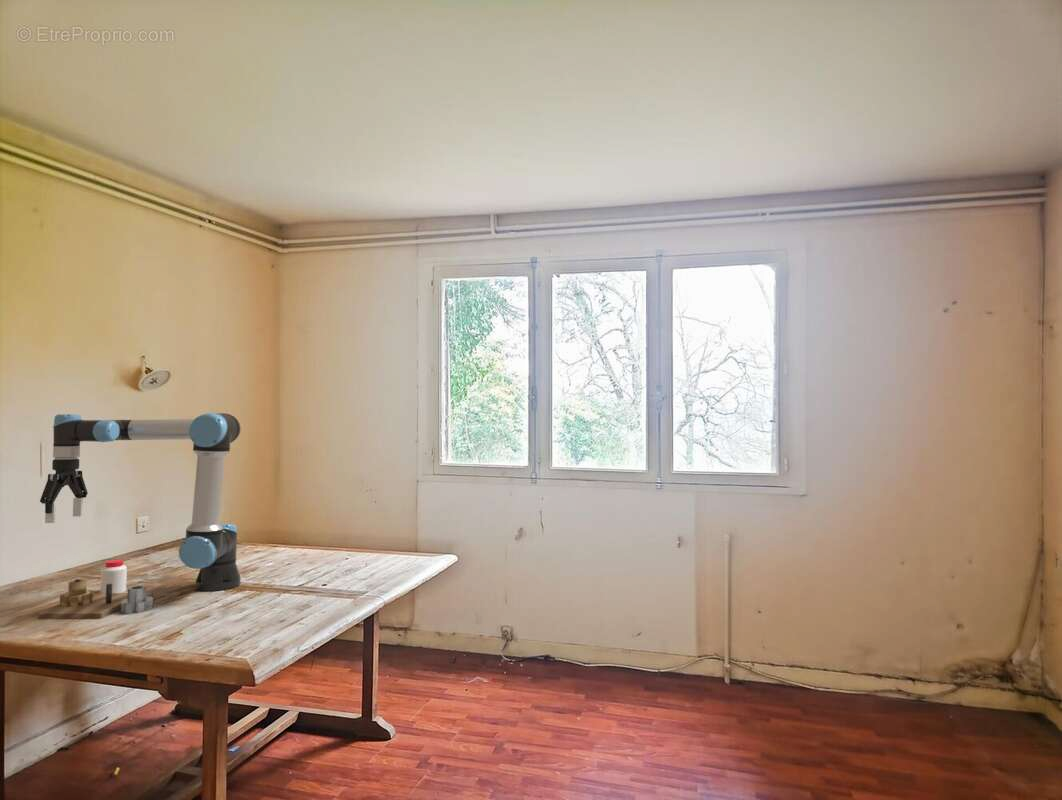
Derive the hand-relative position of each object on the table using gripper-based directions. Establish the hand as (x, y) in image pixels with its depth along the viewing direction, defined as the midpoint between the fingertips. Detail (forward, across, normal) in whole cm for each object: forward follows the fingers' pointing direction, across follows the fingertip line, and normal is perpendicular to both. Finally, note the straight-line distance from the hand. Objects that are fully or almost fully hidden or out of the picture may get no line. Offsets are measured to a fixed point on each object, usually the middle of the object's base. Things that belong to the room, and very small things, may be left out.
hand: (64, 519), depth 213 cm
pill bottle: (+27, -6, +14) cm, 31 cm away
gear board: (+27, +12, +18) cm, 34 cm away
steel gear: (+27, +14, +33) cm, 44 cm away
